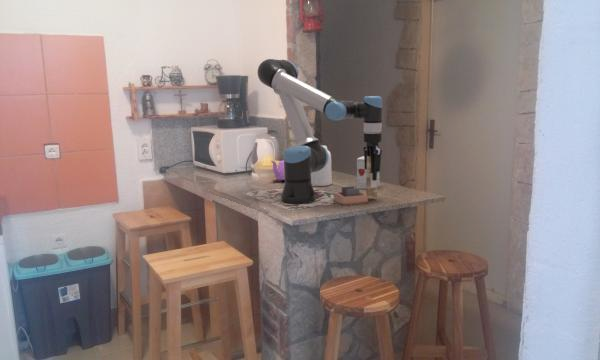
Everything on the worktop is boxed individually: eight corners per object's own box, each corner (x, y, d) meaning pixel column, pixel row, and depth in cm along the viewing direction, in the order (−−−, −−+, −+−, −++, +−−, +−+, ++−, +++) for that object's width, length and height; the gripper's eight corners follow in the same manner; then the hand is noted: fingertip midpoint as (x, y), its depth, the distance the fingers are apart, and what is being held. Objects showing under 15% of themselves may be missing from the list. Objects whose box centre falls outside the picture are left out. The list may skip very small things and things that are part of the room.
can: (322, 187, 240) (321, 147, 236) (302, 185, 248) (301, 146, 244) (336, 183, 250) (335, 145, 246) (316, 181, 257) (315, 144, 254)
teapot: (280, 185, 249) (279, 161, 247) (263, 182, 260) (262, 159, 257) (308, 180, 262) (308, 157, 260) (291, 177, 273) (291, 155, 270)
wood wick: (368, 197, 209) (369, 156, 205) (366, 196, 211) (366, 156, 208) (377, 197, 210) (377, 156, 207) (374, 196, 212) (375, 155, 209)
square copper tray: (343, 205, 201) (343, 191, 199) (333, 200, 211) (333, 186, 210) (367, 203, 204) (367, 189, 203) (356, 198, 214) (356, 184, 213)
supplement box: (356, 188, 235) (356, 158, 233) (362, 185, 243) (362, 155, 241) (373, 189, 231) (374, 159, 229) (379, 186, 239) (380, 156, 236)
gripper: (389, 133, 199) (387, 189, 203) (372, 131, 214) (371, 183, 218) (372, 134, 197) (371, 190, 201) (357, 131, 211) (356, 184, 216)
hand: (371, 186), depth 210 cm, fingers closed on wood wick, 2 cm apart
